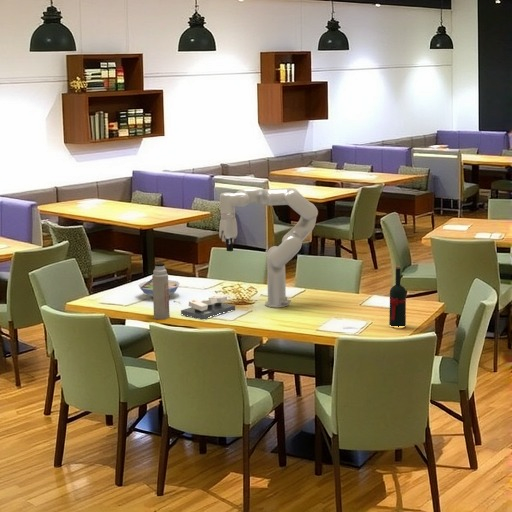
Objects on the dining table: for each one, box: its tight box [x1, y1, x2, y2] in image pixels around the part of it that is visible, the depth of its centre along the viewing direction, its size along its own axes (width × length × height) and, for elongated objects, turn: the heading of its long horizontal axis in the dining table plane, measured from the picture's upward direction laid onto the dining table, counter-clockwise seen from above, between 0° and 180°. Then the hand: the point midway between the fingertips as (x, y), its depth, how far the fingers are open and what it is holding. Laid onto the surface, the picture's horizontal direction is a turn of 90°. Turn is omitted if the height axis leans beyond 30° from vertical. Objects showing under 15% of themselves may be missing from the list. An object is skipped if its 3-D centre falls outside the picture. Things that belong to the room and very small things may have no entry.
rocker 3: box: [207, 295, 228, 303], centre depth 498 cm, size 9×4×2 cm, turn 50°
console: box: [180, 302, 236, 320], centre depth 493 cm, size 16×24×4 cm, turn 140°
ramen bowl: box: [138, 278, 181, 298], centre depth 528 cm, size 25×23×8 cm
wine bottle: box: [388, 265, 407, 327], centre depth 457 cm, size 8×10×30 cm
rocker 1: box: [188, 299, 208, 311], centre depth 487 cm, size 9×4×3 cm, turn 51°
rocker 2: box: [200, 298, 218, 305], centre depth 493 cm, size 9×4×3 cm, turn 49°
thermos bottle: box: [151, 262, 171, 320], centre depth 484 cm, size 8×8×28 cm
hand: (229, 250), depth 499 cm, fingers closed
